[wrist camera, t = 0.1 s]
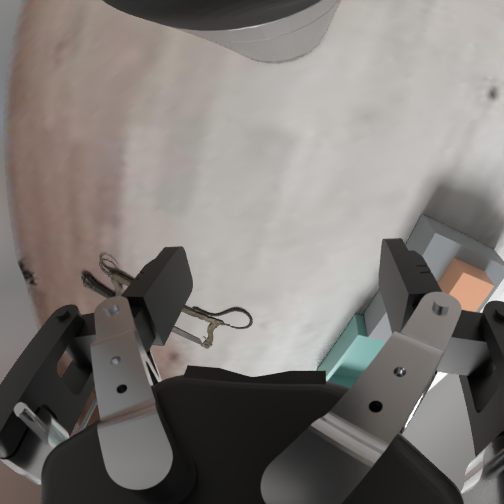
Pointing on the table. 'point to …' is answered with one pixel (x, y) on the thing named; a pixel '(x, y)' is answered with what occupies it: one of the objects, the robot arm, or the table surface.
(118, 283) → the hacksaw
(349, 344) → the box
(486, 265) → the grey flat block
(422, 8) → the table surface
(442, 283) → the terracotta tile
